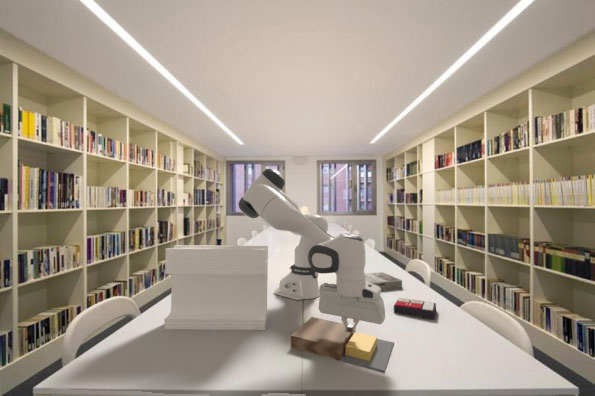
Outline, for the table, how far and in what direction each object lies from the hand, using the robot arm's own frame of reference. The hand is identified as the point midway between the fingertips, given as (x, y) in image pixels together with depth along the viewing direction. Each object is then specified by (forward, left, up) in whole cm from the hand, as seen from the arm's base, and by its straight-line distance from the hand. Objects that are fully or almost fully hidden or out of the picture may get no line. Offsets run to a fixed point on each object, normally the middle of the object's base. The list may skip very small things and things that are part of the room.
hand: (350, 331), depth 87 cm
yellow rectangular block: (+3, 0, -4) cm, 6 cm away
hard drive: (-9, +70, -6) cm, 71 cm away
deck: (-9, 0, -5) cm, 10 cm away
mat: (+6, +1, -5) cm, 8 cm away
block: (-48, -6, -5) cm, 48 cm away
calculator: (+15, +41, -6) cm, 44 cm away
